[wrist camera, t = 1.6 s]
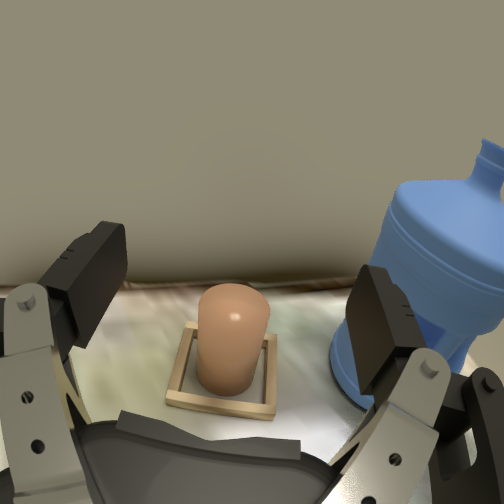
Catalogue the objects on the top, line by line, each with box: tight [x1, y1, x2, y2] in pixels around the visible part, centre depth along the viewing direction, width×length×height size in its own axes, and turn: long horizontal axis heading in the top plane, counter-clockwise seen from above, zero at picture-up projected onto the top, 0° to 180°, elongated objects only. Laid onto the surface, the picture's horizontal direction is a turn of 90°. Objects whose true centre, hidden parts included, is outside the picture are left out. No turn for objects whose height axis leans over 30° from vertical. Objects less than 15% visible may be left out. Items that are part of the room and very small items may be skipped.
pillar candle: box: [197, 284, 270, 396], centre depth 30 cm, size 6×8×10 cm
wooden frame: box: [165, 321, 277, 421], centre depth 31 cm, size 10×10×2 cm
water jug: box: [330, 138, 504, 410], centre depth 26 cm, size 16×16×28 cm
